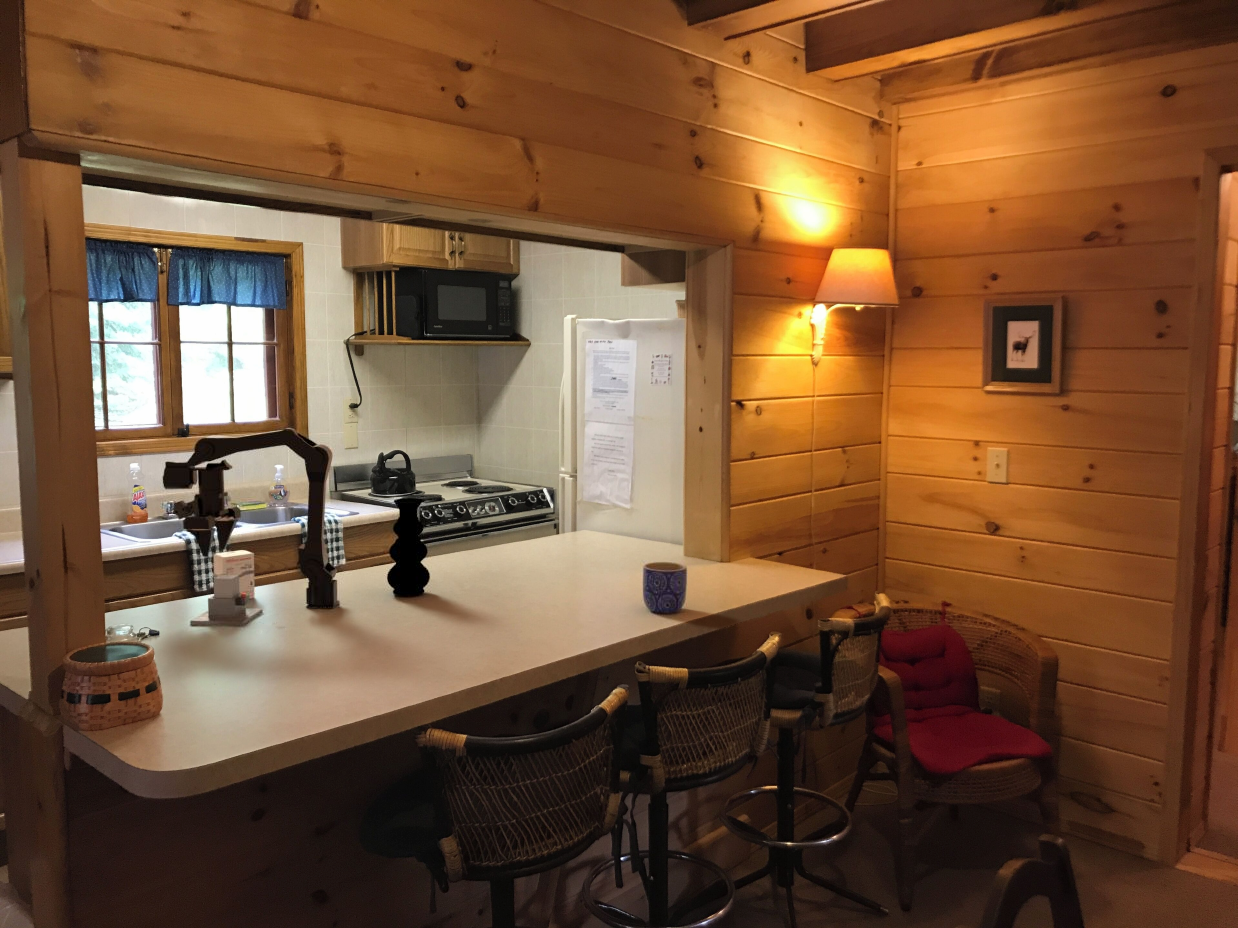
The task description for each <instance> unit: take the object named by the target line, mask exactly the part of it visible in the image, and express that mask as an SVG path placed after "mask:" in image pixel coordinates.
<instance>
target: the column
mask: <svg viewBox="0 0 1238 928" xmlns="http://www.w3.org/2000/svg"><path fill="white" fill-rule="evenodd" d="M238 595H239V575H219V576H218V577H216V578H214V577H213V596H214V598H235V597H237V596H238Z"/></svg>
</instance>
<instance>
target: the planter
mask: <svg viewBox="0 0 1238 928" xmlns="http://www.w3.org/2000/svg"><path fill="white" fill-rule="evenodd" d="M687 585H688V567H687V566H686V565H685V564H682V563H677V562H671V561H670V562H667V561H658V562H657V561H656V562H648V563H646V564H645V563H644V565H643V567H642V599H643V602H644V605H645V607H646V608H647V609H648V610H649V611H650V612H652V613H656V614H660V615H661V614H662V615H663V614H664V615H668V614H670V615H671V614H675V613H678V612H679V611H681V609H682V608H683V607H684V605H685V604H686V600H687V591H688V590H687V589H688V588H687V587H688V586H687Z"/></svg>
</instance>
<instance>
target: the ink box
mask: <svg viewBox="0 0 1238 928" xmlns="http://www.w3.org/2000/svg"><path fill="white" fill-rule="evenodd" d="M219 575H239V593H246V594H247V595H249V600H250V599H254V598H255V597H256V596H255V553H254V552H251V551H248V550H244V549H241V550H240V549H239V550H233V551H225V552H219V553H218V552H217V553H215V554H213V579H214V578H216V577H218V576H219Z"/></svg>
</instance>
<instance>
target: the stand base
mask: <svg viewBox="0 0 1238 928" xmlns="http://www.w3.org/2000/svg"><path fill="white" fill-rule="evenodd" d="M249 604H250V599H249V595H247V594H246V593H239V595H238V596H237V597H235V598H214V595H212V596H209V597H208V598H207V610H206V611H205V612H203V613H201V614H199V615H197V616H196V617H194V618H192V619H191V620H190V621H189V623H190V626H213V627H214V626H217V627H218V626H219V627H221V626H222V627H245V625H247V624H248V623H250V622H252V621H253V620H254V619H256V618H257V617H259V616H260V615H263V613H264V612H263V608H246V607H247V605H249Z"/></svg>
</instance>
